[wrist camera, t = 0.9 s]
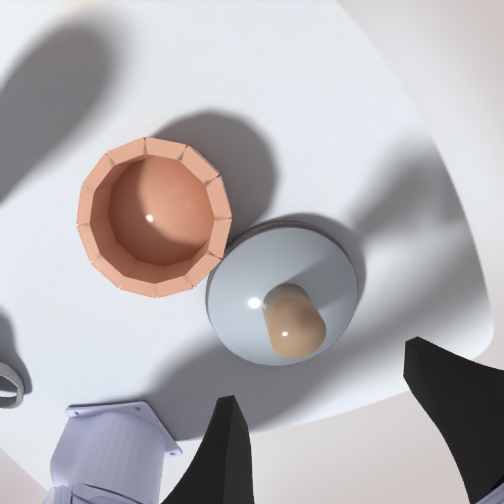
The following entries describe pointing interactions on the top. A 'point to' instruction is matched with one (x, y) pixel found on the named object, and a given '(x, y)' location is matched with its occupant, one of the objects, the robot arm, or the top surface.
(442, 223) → the top surface
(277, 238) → the lid
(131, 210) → the bowl
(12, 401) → the ceramic mug
